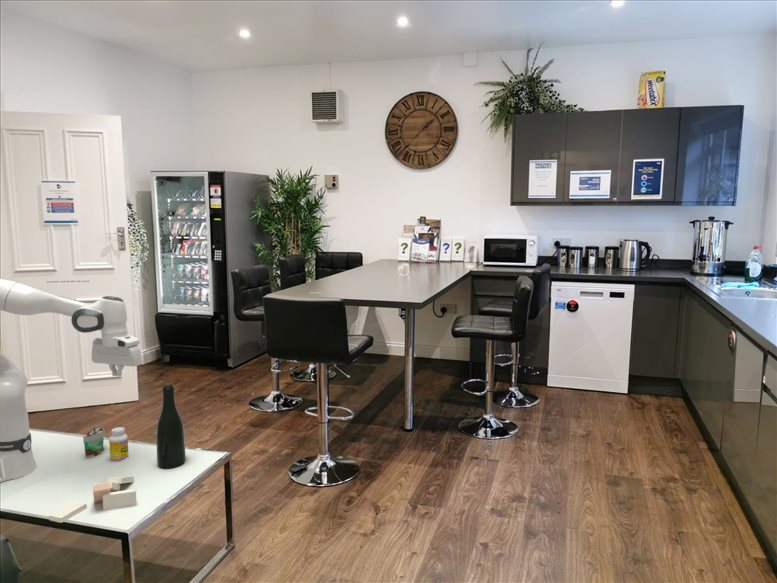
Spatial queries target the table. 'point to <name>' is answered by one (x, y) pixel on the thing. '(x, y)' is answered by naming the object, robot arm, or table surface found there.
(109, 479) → the domino
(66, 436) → the table surface
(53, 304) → the robot arm
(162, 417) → the dark green wine bottle
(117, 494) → the domino
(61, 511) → the domino
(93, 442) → the food container
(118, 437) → the supplement bottle
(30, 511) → the table surface
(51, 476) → the table surface
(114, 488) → the domino
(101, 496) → the domino
